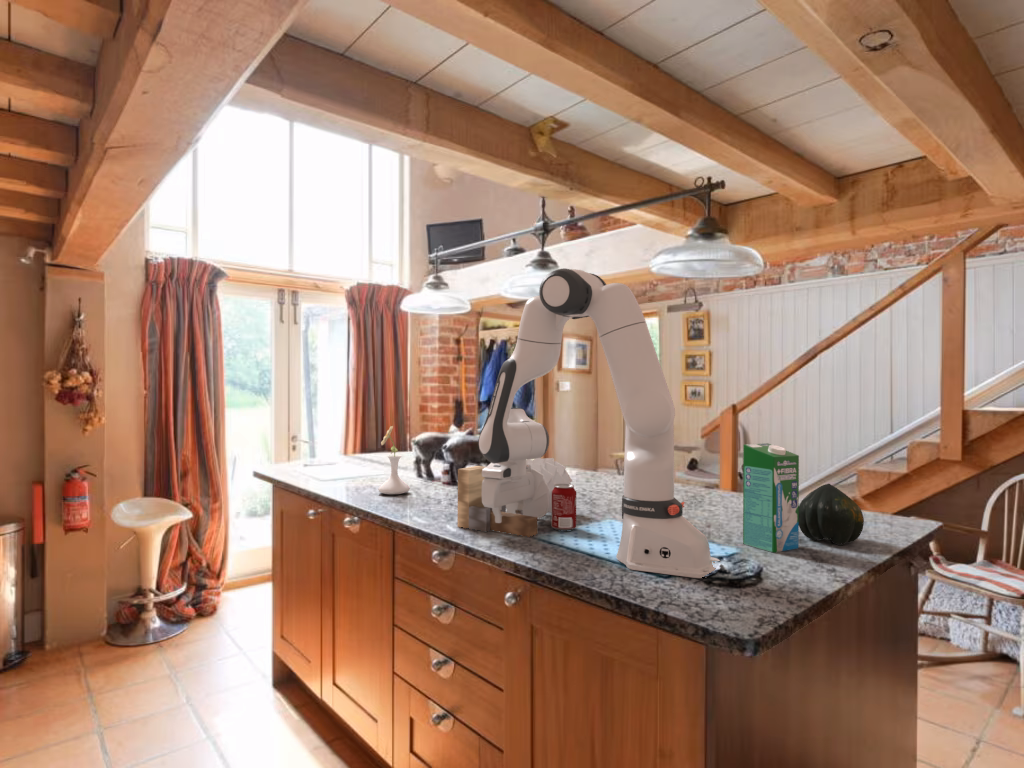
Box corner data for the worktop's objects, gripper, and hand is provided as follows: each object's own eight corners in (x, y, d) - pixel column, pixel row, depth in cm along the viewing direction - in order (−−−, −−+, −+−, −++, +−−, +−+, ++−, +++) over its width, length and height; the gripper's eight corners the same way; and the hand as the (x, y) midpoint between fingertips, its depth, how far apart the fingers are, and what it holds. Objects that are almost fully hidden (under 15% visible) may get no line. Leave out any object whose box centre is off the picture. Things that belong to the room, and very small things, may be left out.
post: (505, 525, 164) (506, 468, 164) (486, 532, 157) (486, 472, 157) (477, 520, 170) (478, 465, 170) (457, 526, 162) (457, 469, 162)
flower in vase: (384, 490, 219) (385, 423, 219) (414, 491, 217) (414, 424, 217) (371, 497, 206) (372, 426, 206) (402, 498, 204) (403, 426, 205)
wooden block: (480, 528, 161) (480, 508, 161) (489, 525, 164) (489, 505, 164) (529, 537, 152) (529, 515, 152) (537, 534, 155) (537, 513, 155)
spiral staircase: (561, 522, 186) (531, 536, 163) (516, 494, 193) (481, 504, 170) (586, 472, 183) (559, 479, 161) (540, 445, 190) (507, 448, 168)
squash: (829, 529, 139) (855, 479, 144) (777, 519, 153) (802, 473, 158) (859, 564, 144) (883, 514, 148) (806, 551, 157) (829, 506, 162)
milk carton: (773, 553, 138) (774, 447, 138) (742, 544, 146) (743, 443, 146) (798, 548, 142) (799, 445, 143) (767, 539, 150) (767, 442, 151)
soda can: (574, 532, 157) (575, 487, 157) (549, 531, 158) (550, 486, 158) (577, 526, 163) (577, 483, 163) (553, 525, 165) (553, 482, 165)
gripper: (521, 463, 168) (521, 511, 168) (477, 471, 151) (477, 524, 151) (540, 464, 165) (540, 514, 164) (497, 473, 148) (496, 528, 148)
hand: (509, 519), depth 158 cm, fingers open, 8 cm apart
